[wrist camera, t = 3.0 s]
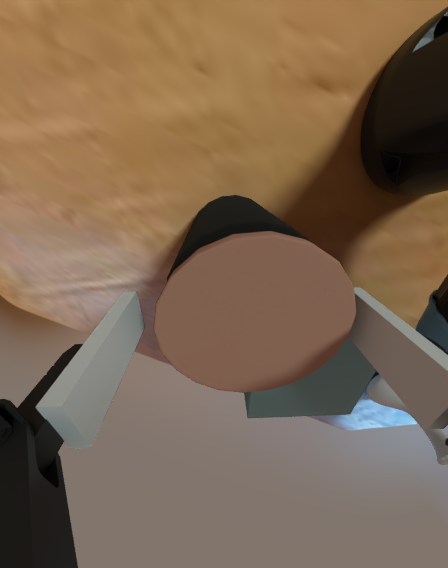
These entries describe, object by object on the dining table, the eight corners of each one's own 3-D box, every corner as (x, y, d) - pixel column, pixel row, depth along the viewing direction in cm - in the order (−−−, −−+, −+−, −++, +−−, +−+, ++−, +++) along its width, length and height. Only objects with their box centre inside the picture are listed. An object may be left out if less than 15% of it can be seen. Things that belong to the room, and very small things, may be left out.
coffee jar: (174, 224, 25) (104, 310, 9) (247, 175, 23) (321, 176, 7) (218, 285, 30) (222, 411, 14) (283, 249, 27) (376, 352, 12)
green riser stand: (248, 294, 31) (258, 330, 24) (360, 292, 31) (402, 327, 24) (242, 376, 40) (247, 418, 33) (327, 373, 41) (350, 414, 34)
